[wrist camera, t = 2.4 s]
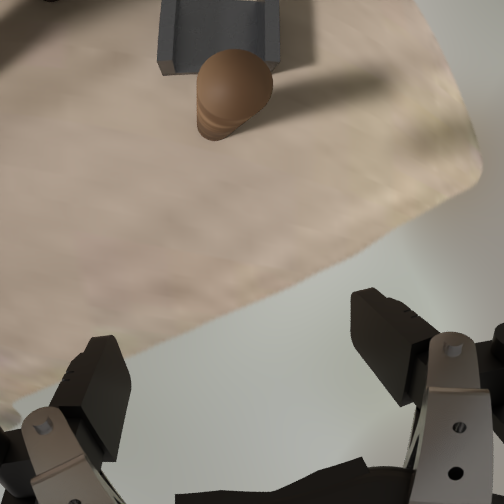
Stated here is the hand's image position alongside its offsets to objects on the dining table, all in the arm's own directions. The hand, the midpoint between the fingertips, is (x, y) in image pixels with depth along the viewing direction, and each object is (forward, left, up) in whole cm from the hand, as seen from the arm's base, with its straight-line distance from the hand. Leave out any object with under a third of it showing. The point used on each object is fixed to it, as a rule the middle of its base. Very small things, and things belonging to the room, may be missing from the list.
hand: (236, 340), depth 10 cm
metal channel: (+1, +21, -28) cm, 35 cm away
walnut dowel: (+1, +10, -28) cm, 30 cm away
